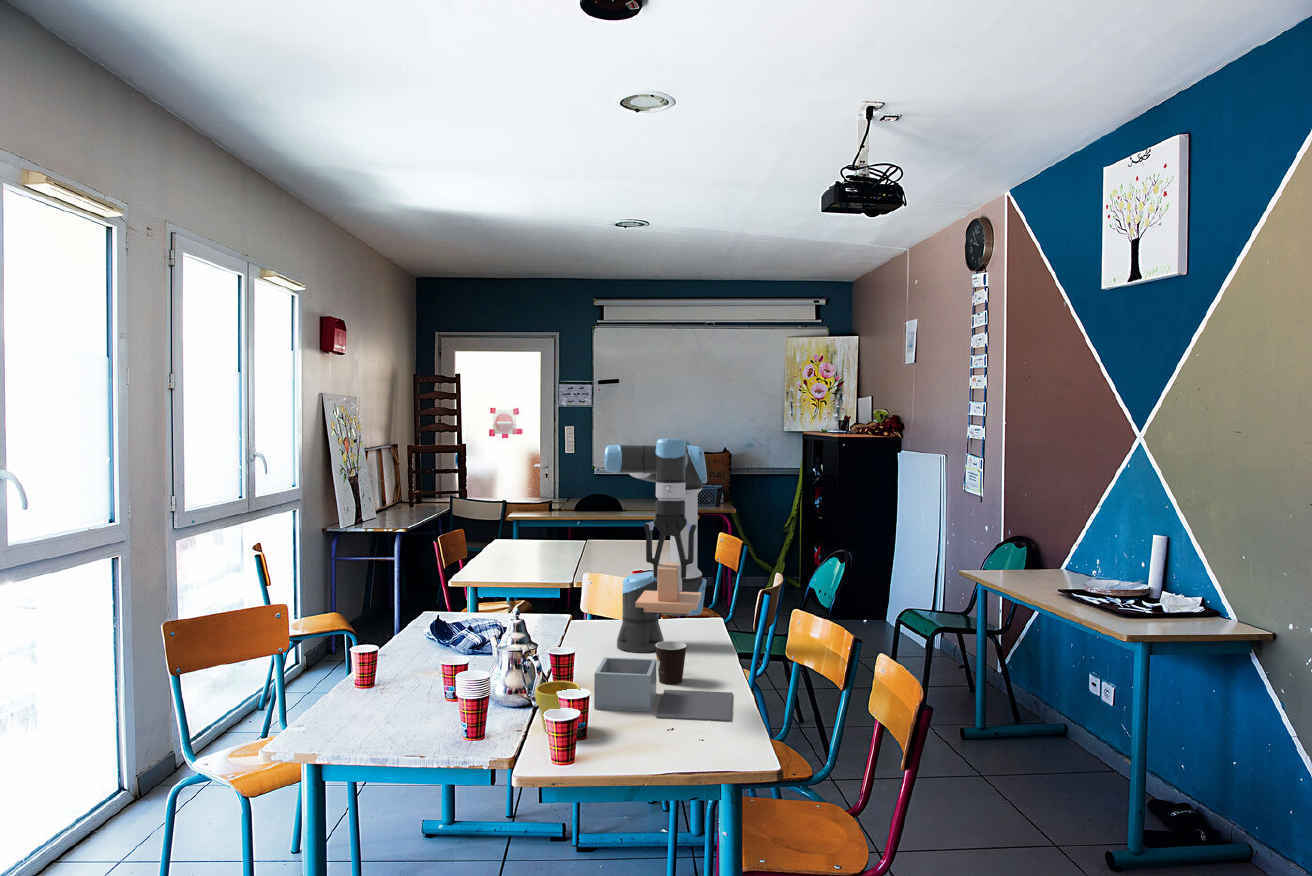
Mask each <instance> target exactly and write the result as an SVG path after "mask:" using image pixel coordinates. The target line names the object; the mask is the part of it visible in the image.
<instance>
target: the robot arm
mask: <svg viewBox="0 0 1312 876" xmlns="http://www.w3.org/2000/svg"><path fill="white" fill-rule="evenodd" d="M603 462H604V470H605V472H607V473H613V474H629V476H631V477H633V478H635V479H639V480H642V481H646V482H652V483H655V497H656V498H657V499H656V501H655V516H654V518H653V521H650V522H645V524H643V528H644V531H645V561H646V562H647V563H648V564H649V563H650V564H651V565H652V566H653V568H652V569H653V571H647V572H646V571H645V572H644V571H643V572H639V573H633V574H630V575H628V576H625V578H624V579H623V581H622V591H621V594H622V622H621V626H620V629H619V632H618V635H617V638H616V647H617V649H618V650H621V649H622V650H621V651H624V650H626V651H625V652H628V651H630V652H629V653H651V652H650V651H653V652H656V646H655V645H656V644H657V643H659V642H664V641H665V639H664V638H665V637H664V636H663V633H662V628H661V625H660V622H659V616H660V615H661V616H662V615H663V616H686V617H688V616H699V615H700V614H702V612H703V608H704V600H705V593H706V587H707V579H706V578H705V577H704V578H703V573H702V571H701V570H700V569H699V568H698V512H699V511H698V506H699V505H698V503H699V501H698V494H699V493H700V492H701V491H702V490H703V486H704V485H703V484H706V483H708V476H707V475H708V474H707V465H706V457H705V452H704V449H703V448H702V447H701V446H698V445H689V444H688V445H686V441H685V439H684V438H658V439H657V440H656V444H654V445H650V444H648V445H647V444H646V445H645V444H644V445H643V444H642V445H639V444H638V445H637V444H609V445H607V446H606V447H605V451H604V461H603ZM654 527H655V528H656V530H657V531H658V532H659V536H658V540H657V544H656V545H657V546H656V549H655V554H654V557H653V530H654ZM669 536H670V537H669ZM666 537H669V538H670V539H669V540H670V543H669V546H670V547H669V548H670V553H669V554H670V556H669V557H670V559H669V561H670V562H669V563H681V565H679V566H678V592H701V599H700V602H699V604H698V606H697V609H696V610H691V612H690V614H680V613H655V612H644V608H640V607H635V602H636V601H637V600H638V599H639V597H640V596H641V595H642V593H643V592H644V591H645V590H646V591H658V569H659V567H661V565H662V564H663V563H660V559H661V556H662V552H663V548H664V543H665V539H666Z"/></svg>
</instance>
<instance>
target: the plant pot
mask: <svg viewBox="0 0 1312 876" xmlns="http://www.w3.org/2000/svg"><path fill="white" fill-rule="evenodd" d="M567 689H578V690H580V691H581V686H580V685H579V684H578V683H576V682H573V681H569V680H552V681H547V682H542V683H540V684H538V685H537V686H536V687H535V703H536V705H537V706H538V707H539V712H540V717H541V722H542V726H543V730H546V724H545V720H544V716H543V714H544V712H545V711H547V710H549V709H560V708H561V706H560V704H559V701H558V695H557V694H556V692H557V691H562V690H567Z"/></svg>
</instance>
